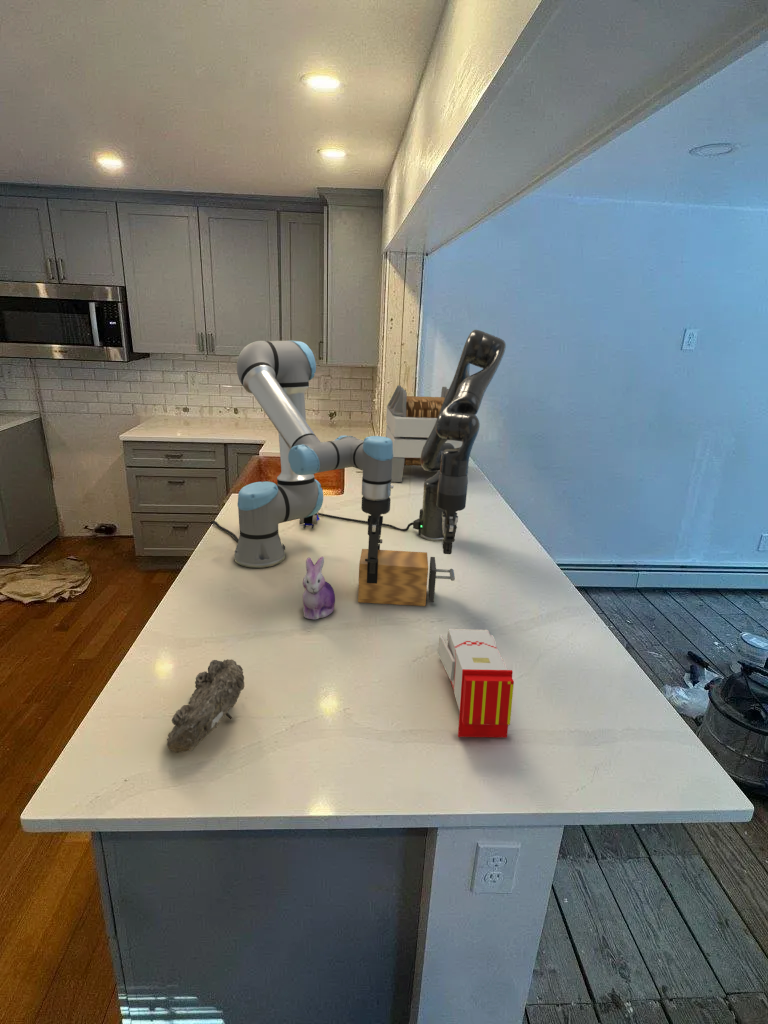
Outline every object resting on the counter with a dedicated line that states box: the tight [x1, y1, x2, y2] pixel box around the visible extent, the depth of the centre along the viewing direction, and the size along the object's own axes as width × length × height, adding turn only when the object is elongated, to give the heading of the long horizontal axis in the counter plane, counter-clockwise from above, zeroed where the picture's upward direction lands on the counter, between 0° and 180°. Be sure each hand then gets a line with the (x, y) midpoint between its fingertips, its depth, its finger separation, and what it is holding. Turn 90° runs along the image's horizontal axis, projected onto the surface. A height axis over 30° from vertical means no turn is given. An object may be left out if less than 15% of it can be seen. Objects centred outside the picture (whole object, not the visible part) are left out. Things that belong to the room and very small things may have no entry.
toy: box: [437, 628, 515, 738], centre depth 117 cm, size 12×13×30 cm
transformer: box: [385, 384, 462, 483], centre depth 268 cm, size 34×33×41 cm
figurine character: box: [298, 512, 320, 530], centre depth 204 cm, size 7×8×15 cm
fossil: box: [166, 658, 245, 754], centre depth 106 cm, size 22×10×15 cm
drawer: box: [427, 556, 456, 603], centre depth 155 cm, size 22×9×10 cm, turn 88°
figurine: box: [302, 556, 336, 621], centre depth 144 cm, size 9×10×15 cm
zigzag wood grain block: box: [357, 548, 429, 607], centre depth 155 cm, size 18×10×11 cm, turn 88°
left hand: (373, 573), depth 155 cm, fingers closed on zigzag wood grain block, 10 cm apart
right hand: (446, 551), depth 152 cm, fingers closed
